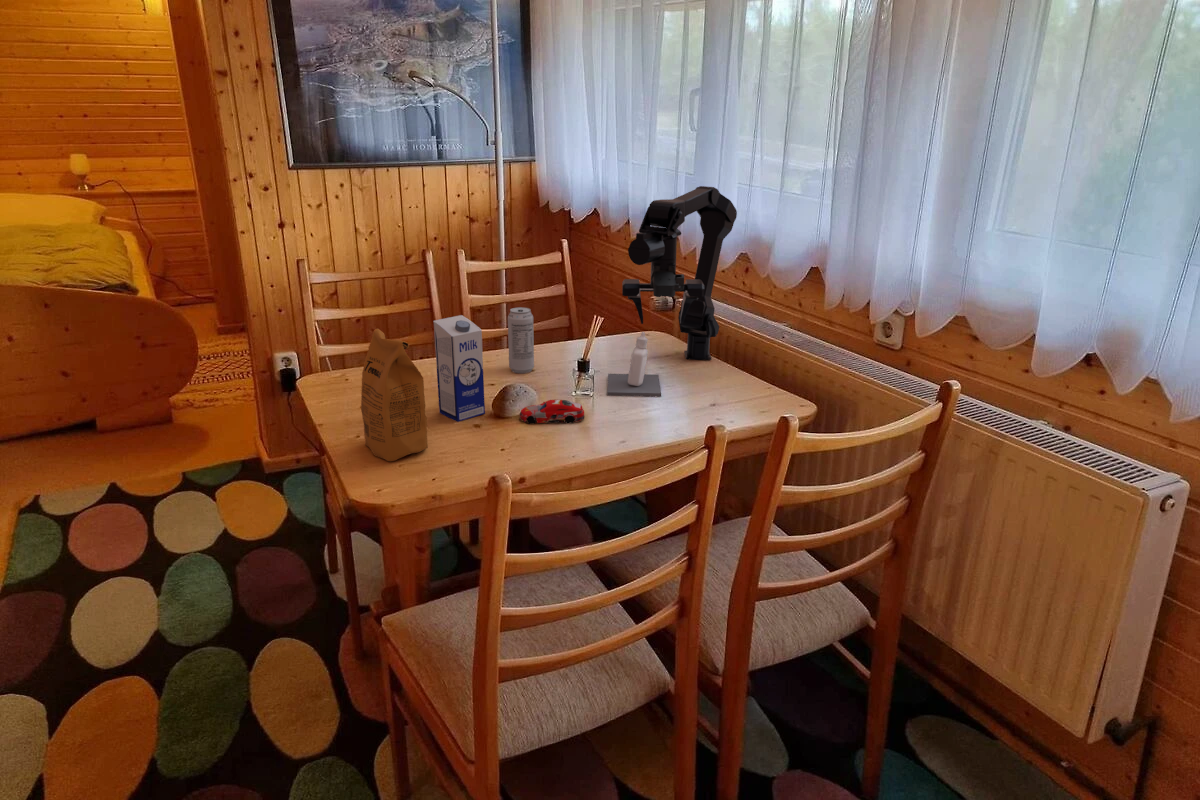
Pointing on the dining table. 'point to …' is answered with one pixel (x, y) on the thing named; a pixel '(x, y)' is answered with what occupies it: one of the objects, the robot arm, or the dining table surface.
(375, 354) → the coffee package
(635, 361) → the white bottle
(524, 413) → the race car
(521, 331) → the energy drink can
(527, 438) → the dining table surface
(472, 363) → the milk carton
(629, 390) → the charcoal pad
